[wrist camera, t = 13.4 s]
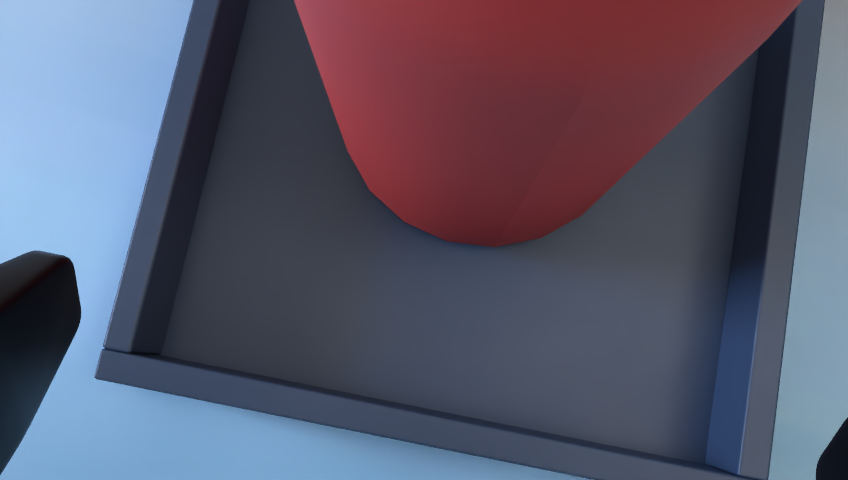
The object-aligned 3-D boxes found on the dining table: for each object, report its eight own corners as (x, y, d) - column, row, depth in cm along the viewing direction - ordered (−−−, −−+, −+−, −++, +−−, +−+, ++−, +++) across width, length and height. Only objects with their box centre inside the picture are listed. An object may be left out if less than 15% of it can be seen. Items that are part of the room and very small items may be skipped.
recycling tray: (720, 494, 17) (765, 514, 14) (135, 376, 17) (92, 378, 15) (799, -126, 19) (848, -188, 17) (285, -216, 19) (268, -289, 17)
